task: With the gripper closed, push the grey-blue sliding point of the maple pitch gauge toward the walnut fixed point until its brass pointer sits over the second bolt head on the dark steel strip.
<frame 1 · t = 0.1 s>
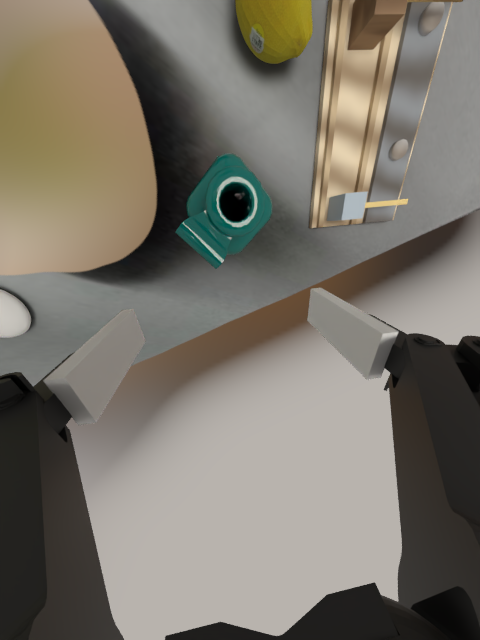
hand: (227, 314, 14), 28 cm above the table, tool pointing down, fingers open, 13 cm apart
gauge board: (365, 135, 32), on the table
pitcher: (221, 219, 35), on the table
flower in vase: (2, 310, 38), on the table
sliding point: (366, 205, 34), point 4 cm above the table, slide at 0.0 cm
lemon: (264, 38, 26), on the table
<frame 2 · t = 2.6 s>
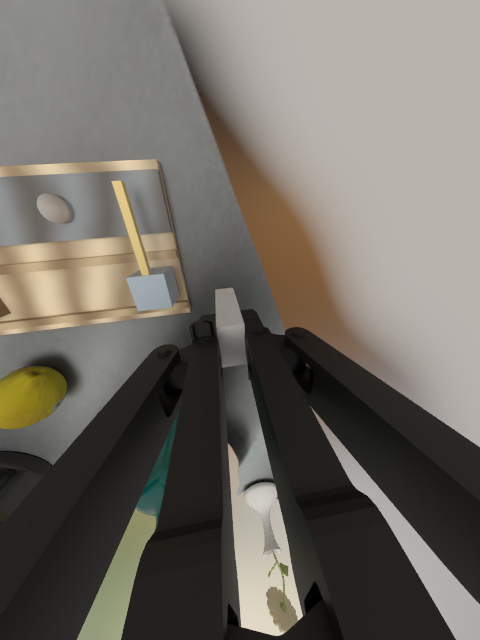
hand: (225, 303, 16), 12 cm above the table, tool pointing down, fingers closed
gauge board: (67, 258, 23), on the table
pitcher: (193, 391, 37), on the table
flower in vase: (260, 486, 60), on the table
sliding point: (145, 251, 21), point 4 cm above the table, slide at 0.0 cm
lemon: (53, 374, 31), on the table
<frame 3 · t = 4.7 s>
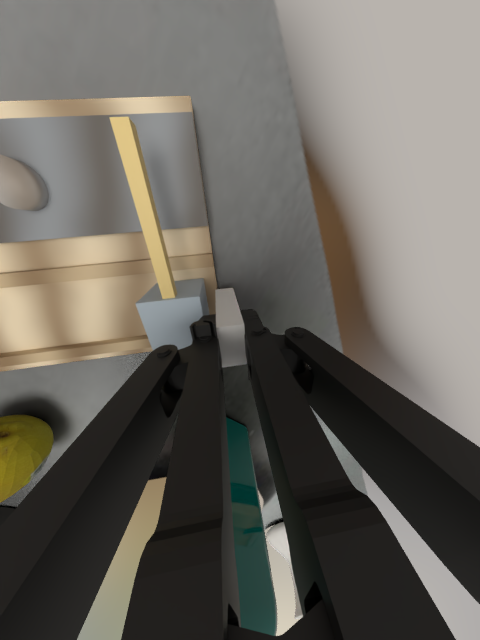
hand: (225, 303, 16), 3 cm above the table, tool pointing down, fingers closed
gauge board: (45, 266, 15), on the table
pitcher: (218, 432, 29), on the table
flower in vase: (285, 523, 52), on the table
sliding point: (167, 258, 13), point 4 cm above the table, slide at 0.1 cm, touching gripper
lemon: (35, 420, 23), on the table
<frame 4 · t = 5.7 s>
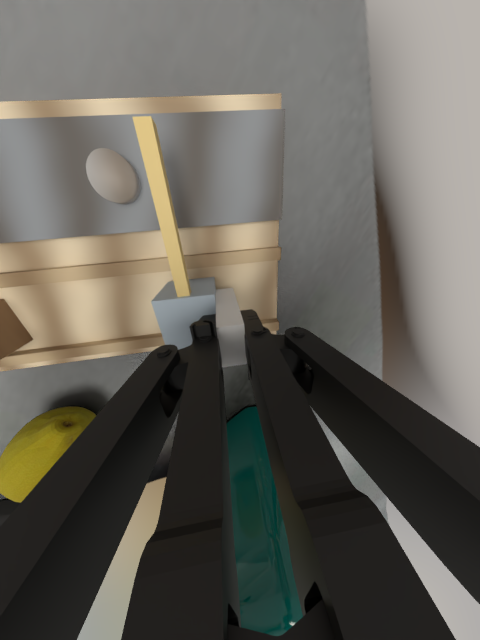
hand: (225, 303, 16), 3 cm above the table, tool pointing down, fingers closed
gauge board: (115, 260, 16), on the table
pitcher: (253, 426, 29), on the table
sliding point: (181, 256, 13), point 4 cm above the table, slide at 4.8 cm, touching gripper
lemon: (83, 412, 23), on the table
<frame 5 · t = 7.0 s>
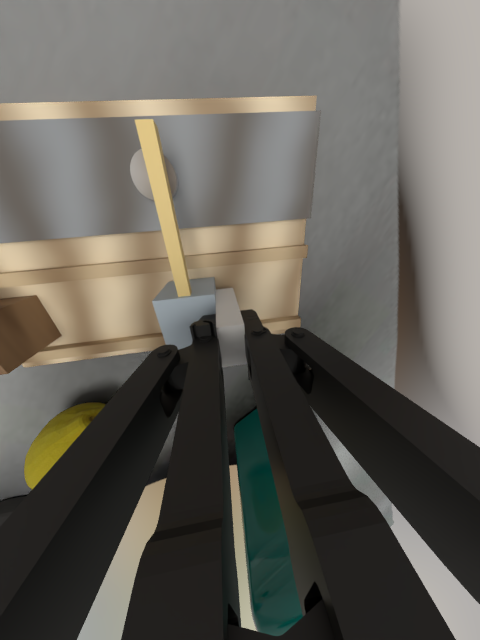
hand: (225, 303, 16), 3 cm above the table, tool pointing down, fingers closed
gauge board: (145, 257, 16), on the table
pitcher: (267, 423, 29), on the table
sliding point: (181, 257, 13), point 4 cm above the table, slide at 7.2 cm, touching gripper
lemon: (102, 408, 24), on the table
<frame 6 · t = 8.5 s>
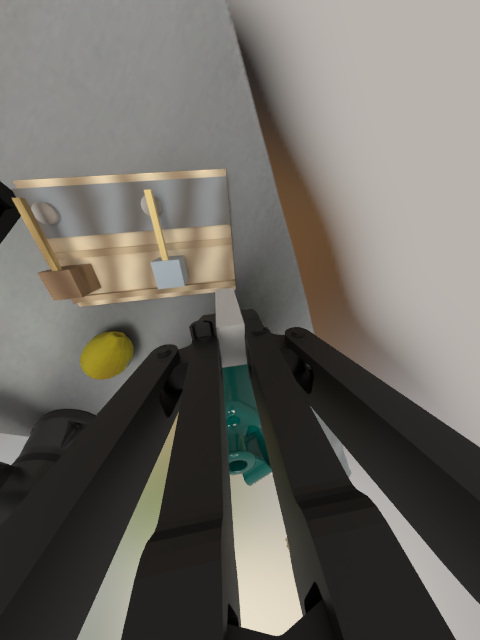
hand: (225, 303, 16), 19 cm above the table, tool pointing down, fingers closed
gauge board: (147, 244, 30), on the table
pitcher: (228, 360, 43), on the table
sliding point: (164, 242, 27), point 4 cm above the table, slide at 7.2 cm
lemon: (120, 341, 38), on the table
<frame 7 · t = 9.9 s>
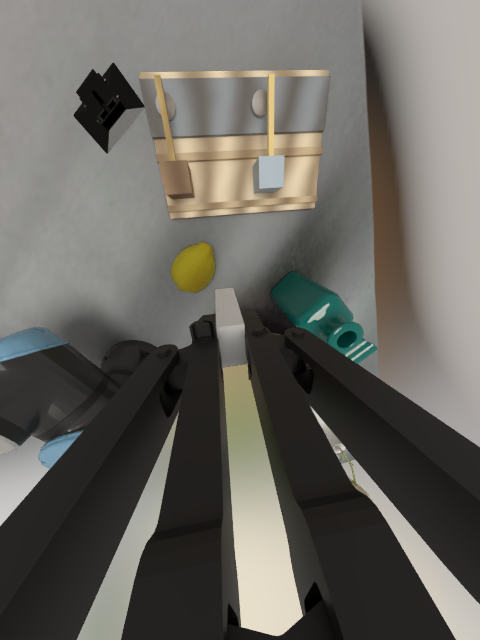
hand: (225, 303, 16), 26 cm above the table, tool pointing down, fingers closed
gauge board: (240, 154, 32), on the table
pitcher: (291, 293, 45), on the table
flower in vase: (316, 409, 68), on the table
black stand: (112, 113, 28), on the table
sliding point: (267, 143, 29), point 4 cm above the table, slide at 7.2 cm
lemon: (196, 265, 39), on the table
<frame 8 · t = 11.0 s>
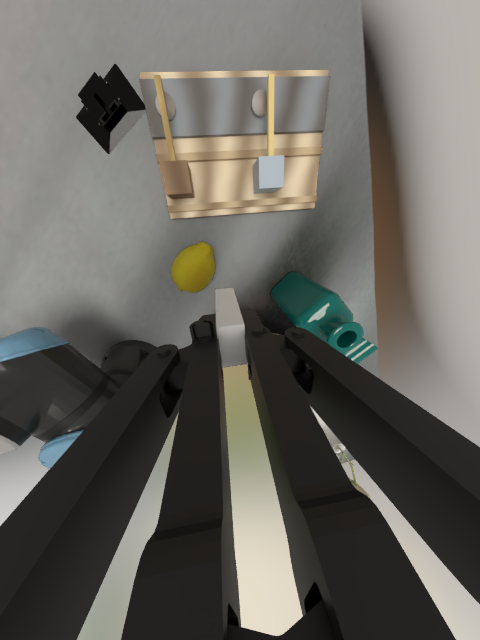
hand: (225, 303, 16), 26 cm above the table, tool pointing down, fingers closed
gauge board: (240, 154, 32), on the table
pitcher: (291, 293, 45), on the table
flower in vase: (316, 409, 68), on the table
black stand: (113, 115, 28), on the table
sliding point: (267, 143, 29), point 4 cm above the table, slide at 7.2 cm
lemon: (196, 265, 39), on the table
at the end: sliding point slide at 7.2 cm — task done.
